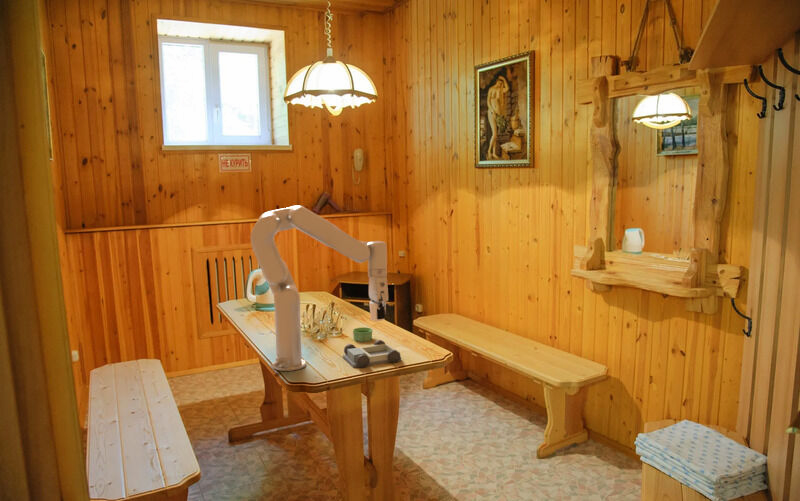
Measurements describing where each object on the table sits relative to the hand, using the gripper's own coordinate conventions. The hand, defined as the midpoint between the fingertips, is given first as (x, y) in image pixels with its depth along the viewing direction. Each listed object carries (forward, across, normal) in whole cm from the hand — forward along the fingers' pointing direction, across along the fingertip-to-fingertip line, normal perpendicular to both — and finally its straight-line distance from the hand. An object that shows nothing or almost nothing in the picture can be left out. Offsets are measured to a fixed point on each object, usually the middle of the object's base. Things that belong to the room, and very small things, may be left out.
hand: (377, 316), depth 221 cm
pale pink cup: (+1, 0, 0) cm, 1 cm away
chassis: (+17, 0, +3) cm, 17 cm away
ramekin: (+18, +28, -4) cm, 33 cm away
